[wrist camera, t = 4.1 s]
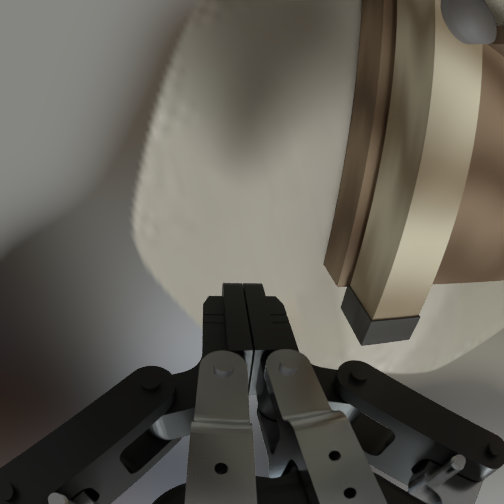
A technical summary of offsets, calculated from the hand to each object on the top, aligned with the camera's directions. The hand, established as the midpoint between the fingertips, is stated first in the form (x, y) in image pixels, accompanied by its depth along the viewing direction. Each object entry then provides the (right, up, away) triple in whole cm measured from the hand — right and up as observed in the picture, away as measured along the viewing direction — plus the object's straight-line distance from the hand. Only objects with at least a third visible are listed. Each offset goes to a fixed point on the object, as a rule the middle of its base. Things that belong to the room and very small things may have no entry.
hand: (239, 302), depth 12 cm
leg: (+8, +7, +1) cm, 11 cm away
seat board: (+15, +9, +4) cm, 18 cm away
